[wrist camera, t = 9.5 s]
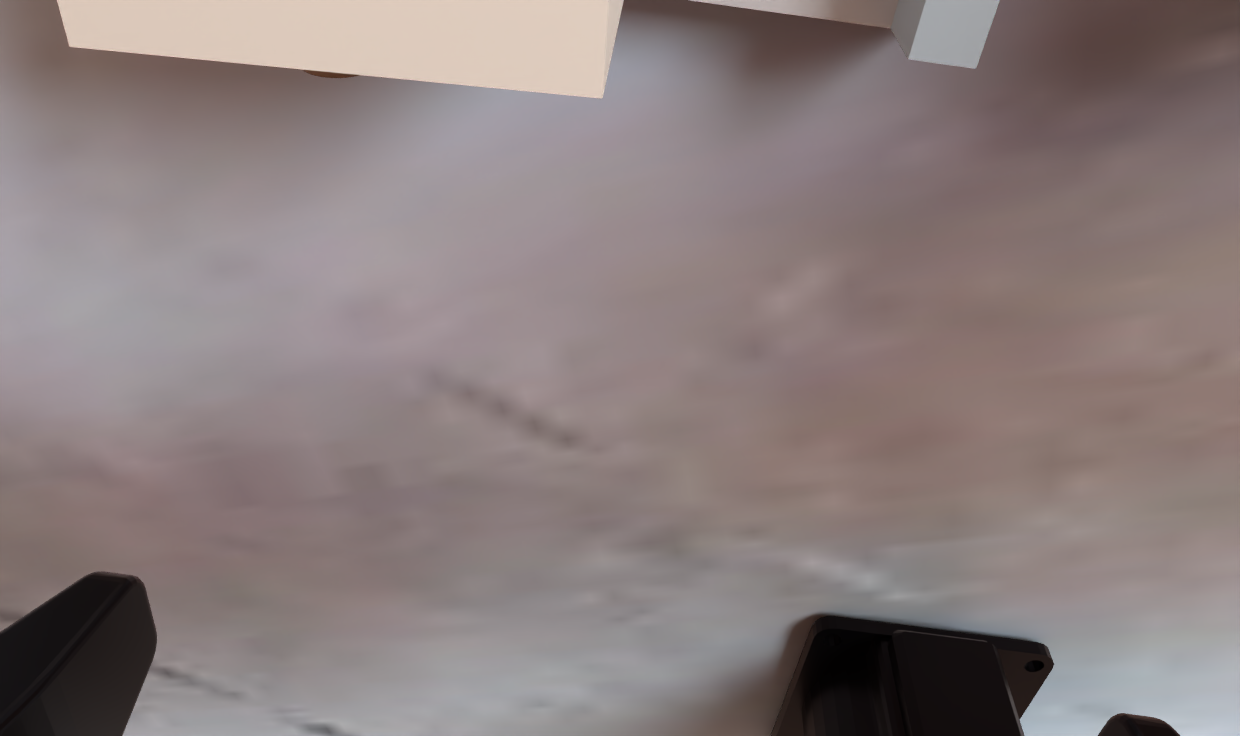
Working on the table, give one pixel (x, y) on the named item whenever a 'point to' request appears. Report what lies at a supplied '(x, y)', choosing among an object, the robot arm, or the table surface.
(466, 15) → the beige cube
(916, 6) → the toy sofa
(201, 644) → the table surface
